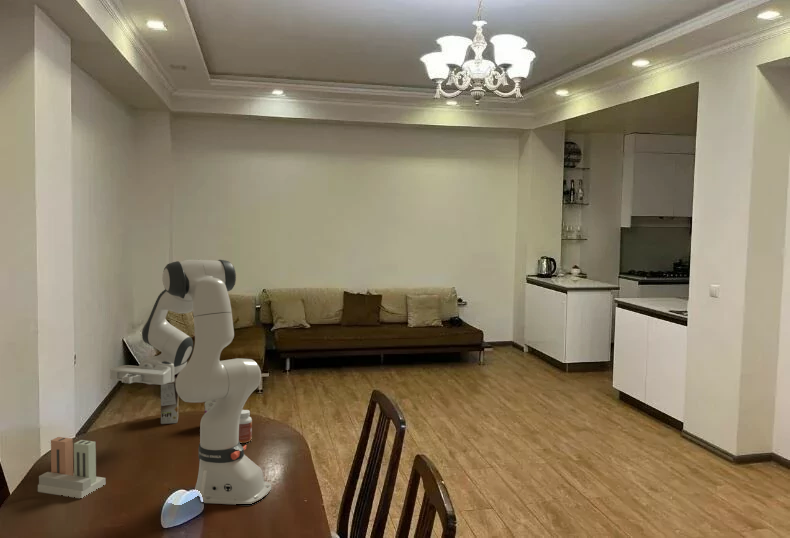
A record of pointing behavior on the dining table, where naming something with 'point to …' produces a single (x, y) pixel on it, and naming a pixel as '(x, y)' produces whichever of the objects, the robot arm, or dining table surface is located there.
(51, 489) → the tile board
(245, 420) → the pill bottle
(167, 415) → the coffee box
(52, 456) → the orange-brown upright block
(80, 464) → the pale green tall block
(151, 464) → the dining table surface
